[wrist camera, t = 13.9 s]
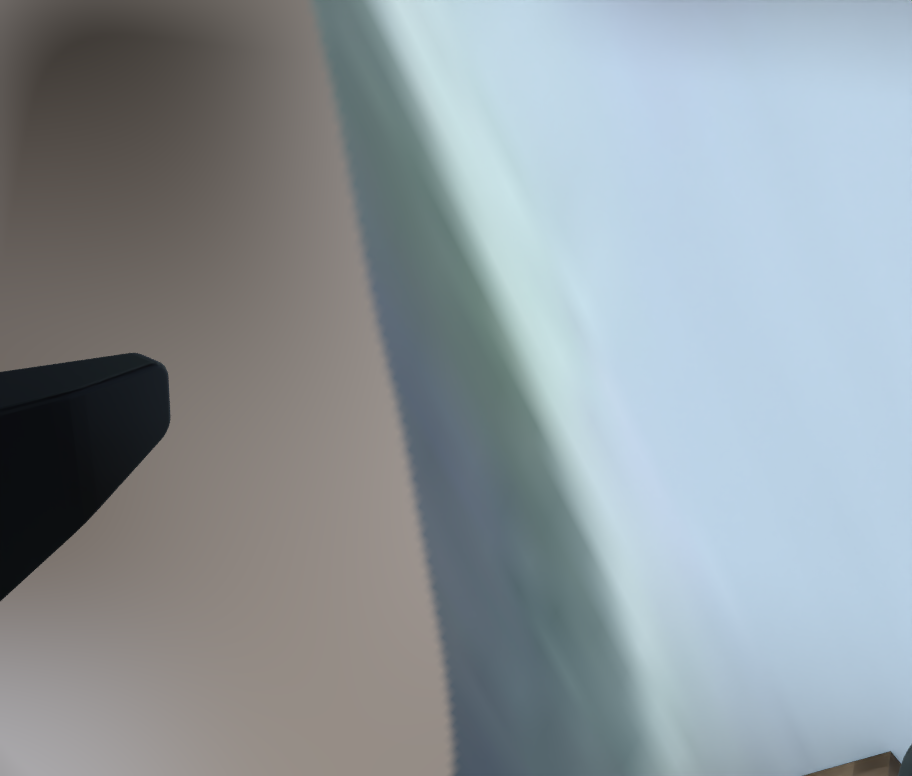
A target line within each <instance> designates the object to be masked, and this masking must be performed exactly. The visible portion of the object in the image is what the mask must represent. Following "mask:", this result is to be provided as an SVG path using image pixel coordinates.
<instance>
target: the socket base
mask: <svg viewBox="0 0 912 776" xmlns="http://www.w3.org/2000/svg"><path fill="white" fill-rule="evenodd" d="M900 767H901V764H900V762H899V761H898V760H897V759H896V758H895V756H894V755H893V754H892V753H891V751H890V752H887V753H883V754H879V755H876V756H872V757H869V758H865V759H861V760H858V761H854V762H851V763H847V764H843V765H840V766H836V767H833V768H829V769H826V770H822V771H818V772H815V773H811V774H808V775H804V776H898V775H899V771H900Z"/></svg>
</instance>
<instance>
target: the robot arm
mask: <svg viewBox="0 0 912 776" xmlns="http://www.w3.org/2000/svg"><path fill="white" fill-rule="evenodd" d="M169 423H170V401H169V380H168V372H167V370H166V368H165V366H164V365H163V364H162V363H160V362H158V361H156V360H154V359H151V358H149V357H146V356H144V355H142V354H138V353H128V354H120V355H114V356H107V357H100V358H93V359H86V360H79V361H73V362H66V363H59V364H53V365H46V366H38V367H31V368H24V369H18V370H10V371H4V372H0V601H1V600H2V599H3V598H4V597H6V595H8V594H9V593H10V592H11V591H12V590H13V589H14V588H15V587H17V586H18V585H19V584H20V583H21V582H22V581H23V580H24V579H25V578H26V577H28V575H30V574H31V573H32V572H33V571H34V570H35V569H36V568H37V567H38V566H39V565H40V564H42V563H43V562H44V561H45V560H46V559H47V558H48V557H49V556H51V555H52V554H53V553H54V552H55V551H56V550H57V549H58V548H59V547H60V546H61V545H63V544H64V543H65V542H66V541H67V540H68V539H69V538H70V537H71V536H72V535H73V534H74V533H76V532H77V531H78V530H79V529H80V528H81V527H82V526H83V525H84V524H85V523H86V522H87V521H88V520H89V519H90V518H91V517H92V515H93V514H94V513H95V512H96V511H97V510H98V509H99V508H100V507H101V506H102V505H103V504H104V502H105V501H106V500H107V499H108V498H109V497H110V496H111V495H112V494H113V492H114V491H115V490H116V489H117V488H118V487H119V485H121V484H122V483H123V481H124V480H125V479H126V478H127V477H128V476H129V475H130V474H131V472H132V471H133V470H134V469H135V468H136V467H137V466H138V465H139V464H140V463H141V461H142V460H143V459H144V458H145V457H146V456H147V455H148V454H149V453H150V451H151V450H152V449H153V448H154V447H155V446H156V445H157V444H158V442H159V441H160V440H161V439H162V438H163V437H164V435H165V433H166V432H167V429H168V427H169ZM898 776H912V744H911V746H910V747H909V749H908V751H907V752H906V754H905V756H904V759H903V761H902V764H901V767H900V771H899V775H898Z"/></svg>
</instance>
